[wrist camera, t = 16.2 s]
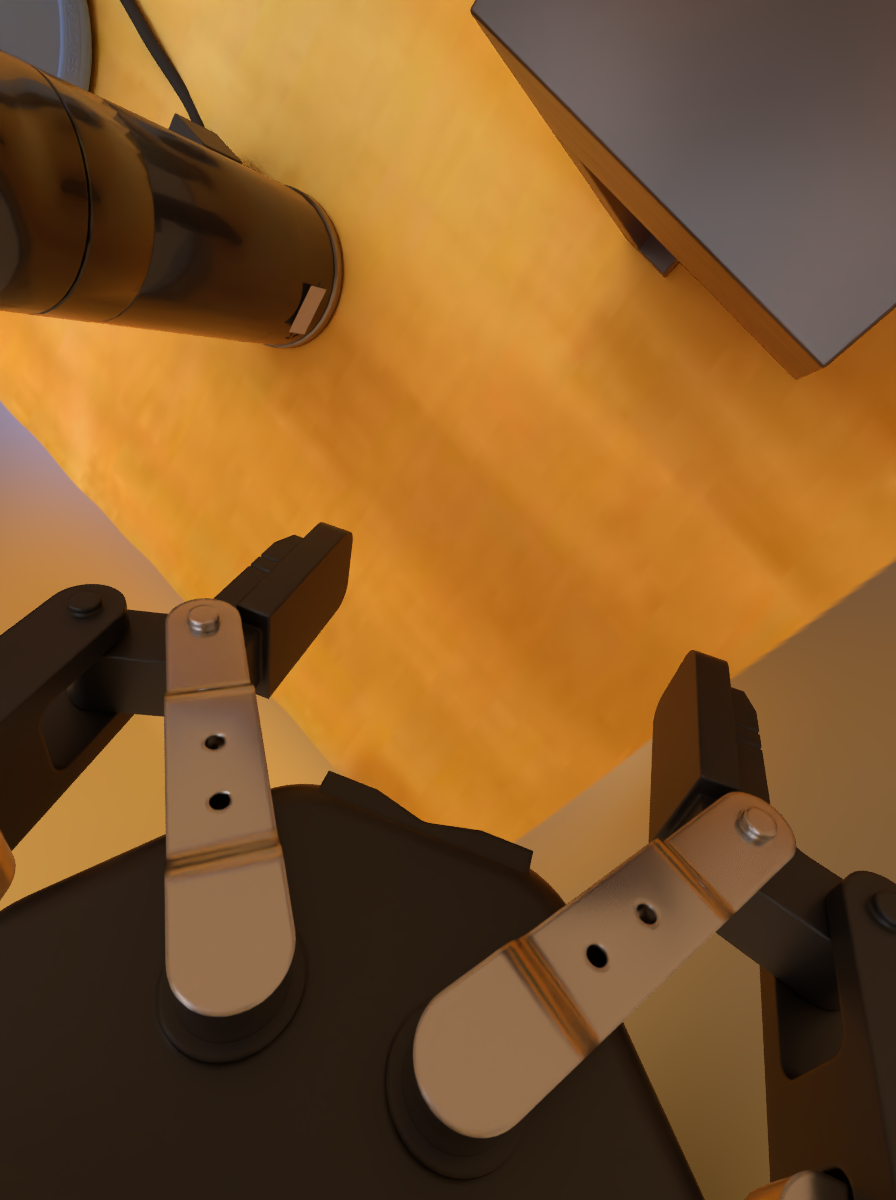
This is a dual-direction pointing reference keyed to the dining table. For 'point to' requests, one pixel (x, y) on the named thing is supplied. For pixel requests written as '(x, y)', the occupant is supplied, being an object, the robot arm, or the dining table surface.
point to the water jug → (49, 36)
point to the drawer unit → (732, 147)
